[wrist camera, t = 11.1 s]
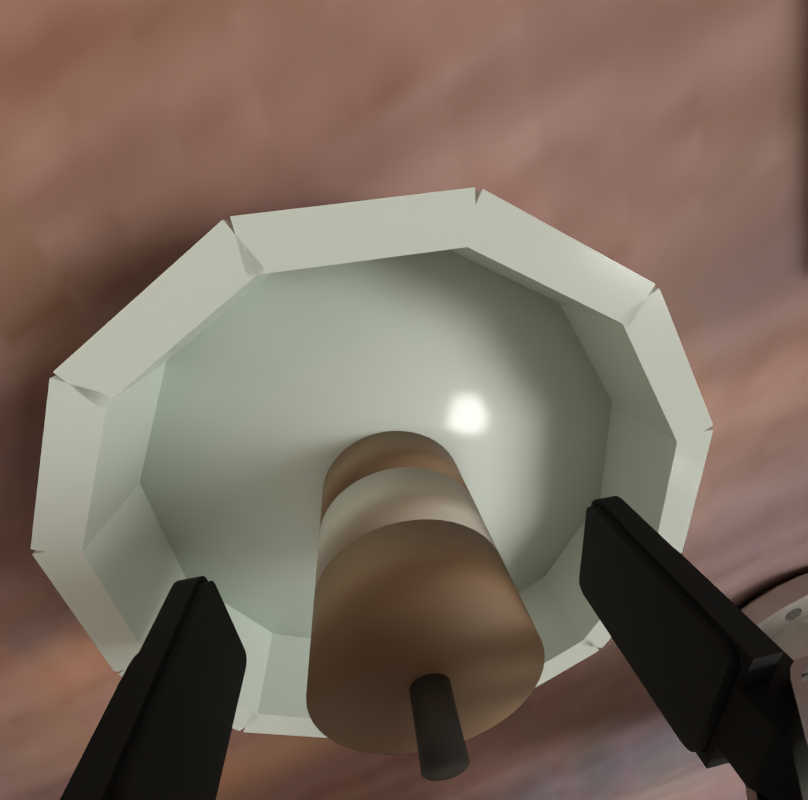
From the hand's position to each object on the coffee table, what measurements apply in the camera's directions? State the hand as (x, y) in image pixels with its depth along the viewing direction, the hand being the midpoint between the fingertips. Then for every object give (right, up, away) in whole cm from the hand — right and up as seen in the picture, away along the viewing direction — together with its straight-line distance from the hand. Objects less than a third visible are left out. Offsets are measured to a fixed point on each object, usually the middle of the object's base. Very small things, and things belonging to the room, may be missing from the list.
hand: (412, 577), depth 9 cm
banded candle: (-1, +1, +3) cm, 4 cm away
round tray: (-1, +2, +4) cm, 4 cm away
